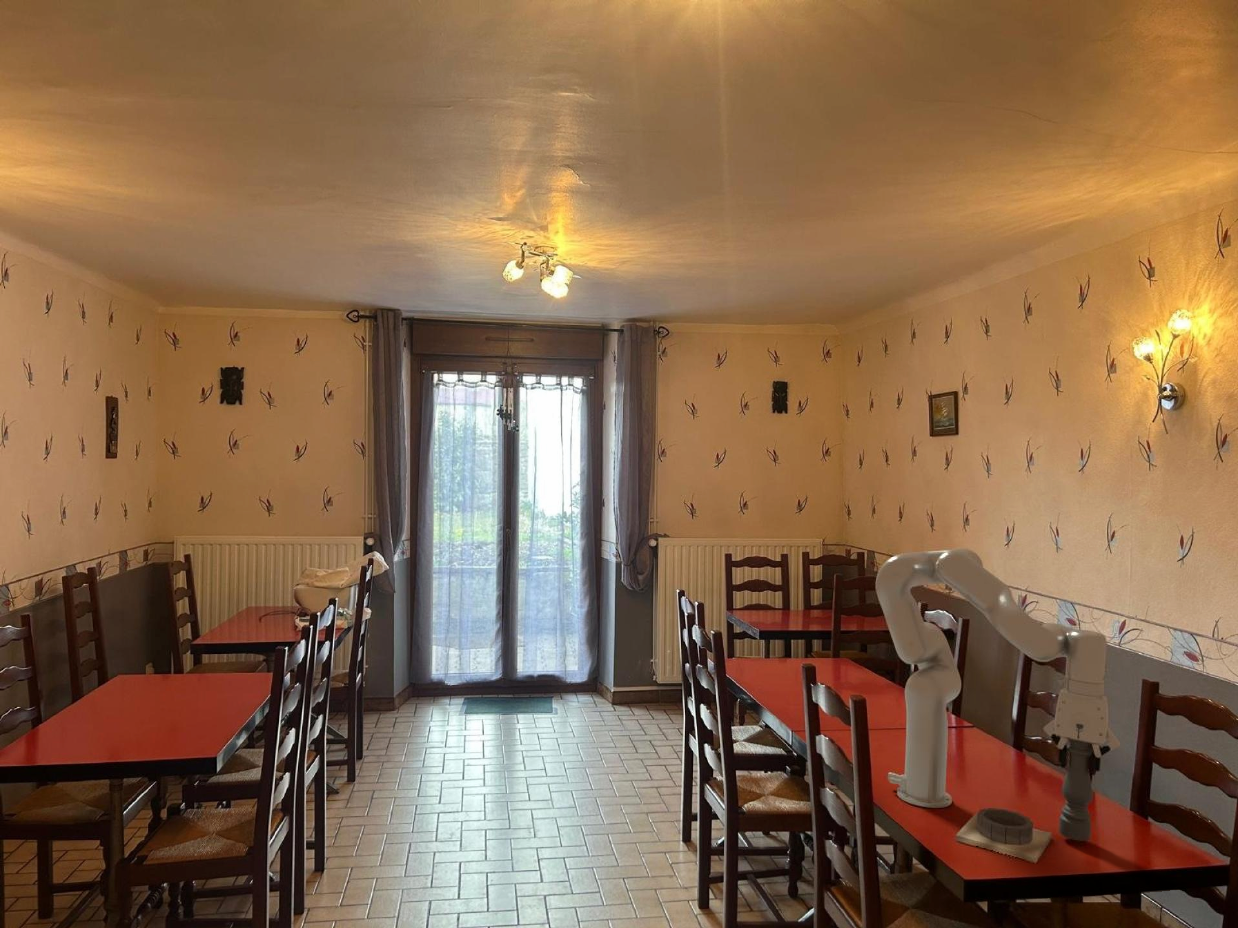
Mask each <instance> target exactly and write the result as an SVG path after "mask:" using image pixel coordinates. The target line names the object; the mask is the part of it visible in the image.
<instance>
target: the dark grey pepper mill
mask: <svg viewBox="0 0 1238 928" xmlns="http://www.w3.org/2000/svg"><path fill="white" fill-rule="evenodd" d="M1076 727H1077V728H1078V730H1077V729H1076V730H1077V731H1078V736H1077V738H1078V739H1080V738H1079V732H1081V731H1083V730H1081V731H1079V730H1080V729H1083V725H1082V724H1077V723H1076ZM1068 740H1069V743H1070V744H1067V750H1068V753H1069V763H1068V768H1067V771H1066V773H1065V777H1064V780H1063V783H1062V786H1061V794H1062V797H1063V798H1064V800H1065V801H1064V803H1065V805H1064V806H1063V807H1062V808H1061V814H1060V815H1059V826H1058V833H1059V834H1060V835H1062V836H1063V837H1066V838H1068V839H1070V840H1074V841H1080V842H1081V841H1082V842H1085V841H1089V840H1091V835H1092V834H1091V832H1092V821H1091V820H1090V819H1091V814H1090V813H1089V810H1088V809H1087V808H1088V806H1089V804H1091V802H1092V801H1093V798H1094V792H1093V787H1092V782H1091V781H1092V780H1091V776H1090V770H1089V768H1090V758H1091V756H1093V754H1094V750H1093V748H1091V747H1092V744H1091V743H1086V742H1082V741H1078V740H1072V739H1068Z"/></svg>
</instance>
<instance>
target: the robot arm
mask: <svg viewBox="0 0 1238 928" xmlns="http://www.w3.org/2000/svg"><path fill="white" fill-rule="evenodd" d="M983 565H984V563H983V560H982V559H981V557H980V556H979V554H978V553H976V552H974V551H973V550H971V549H969V548H957V549H956V548H953V549H946V550H930V551H929V550H928V551H926V550H925V551H915V552H914V551H913V552H906V553H899V554H896V555H893V556H892V557H890V558H888V559H887V560H886V561H885V562H884V563H883V564H882V565H881V567H880V568H879V569H878V572H877V574H876V579H875V593H876V595H877V596H876V597H877V599H878V602H879V604H880V608H881V609H882V612H883V615H884V618H885V622H886V625H887V627H888V630H889V634H890V636H891V639H892V643H893V644H894V648H895V651H896V654H897V655H898V658H900V660H901V661H903V662H904V663H905V664H907V665H917V668H918V670H917V671H915V672H913V673H912V674H911V675H910V676H909V678H908V679H907V681H906V684H905V686H904V687H905V688H904V699H905V707H906V730H905V732H906V734H905V736H906V737H905V757H904V758H905V759H904V760H905V761H904V774H903V773H902V774H901V775H900V774H897V773H895V772H890V771H889V772H888V774H887V780H888V782H889V783H890V784H893V785H898V788H897V789H896V794H897V796H898V798H900V799H901V800H902V801H904V802H906V803H907V804H911V805H914V806H918V807H924V808H930V809H942V808H946V807H947V808H948V807H949V806H950V805H951V804H952V800H953V798H952V796H951V795H950V794H949V793H948V792H946V785H947V784H946V783H947V781H946V779H947V761H948V760H947V759H948V758H947V757H948V735H949V733H948V730H949V729H948V727H949V726H948V725H949V723H948V722H949V721H948V715H947V714H948V713H947V704H948V703H950V702H952V701H954V700H955V699H956V698H957V697H958V696H959V694H960V693H961V690H962V679H961V676H960V673H959V670H958V667H957V665H956V664H957V663H956V662H955V661H956V660H955V658H954V655H953V653H952V651H951V647H950V645H949V643H948V639H947V637H946V636H945V634H944V632H943V631H942V630H941V628H939V627H938V626H937V625H936V624H933V623H931V622H928V621H924V618H923V617H922V614H921V611H920V607H919V605H918V603H917V601H916V599H915V598H914V597H913V595H912V593H911V589H912V588H913V587H920V586H926V585H944V584H945V585H946V586H948V587H949V588H951V589H952V590H953V591H955V592H956V593H957V594H959V595H960V596H961V597H963V599H965V600H966V601H968V603H970V604H971V605H972V606H974V608H976V609H977V610H979V611H980V612H981V613H982V614H983V615H984V616H985V618H986V619H987V620H988V622H990V624H991V625H992V626H993V627H994V628H995V630H996V631H997V633H999V634H1000V635H1001V636H1002V637H1004V639H1005V640H1007V641H1008V642H1009V643H1010V644H1011V645H1013V646H1014V647H1016V648H1017V649H1018V650H1020V652H1022V653H1023V654H1024V655H1026V656H1027V657H1029V658H1031V659H1032V660H1034V661H1037V662H1041V663H1042V662H1050V661H1053V660H1055V659H1056V658H1057V659H1058V658H1061V657H1064V658H1066V662H1065V663H1066V664H1065V676H1064V677H1058V678H1057V684H1059V685H1062V686H1063V688H1062V689H1060V690H1059V694H1058V697H1057V702H1056V707H1055V708H1056V709H1055V714H1054V715H1055V716H1054V719H1052V720H1050V722H1049V723H1047V724H1046V725H1045V726H1044V727H1043V731H1044V732H1045V733H1046V734H1047V736H1049V737H1050V739H1051V740H1052V741H1053V742H1054V743H1055V745H1056V746H1057V748H1058V759H1057V760H1058V762H1059V763H1060V768H1062V769H1065V768H1066V767H1067V765H1068V758H1069V757H1068V753H1069V751H1068V750H1067V746H1068V744H1067V742H1068V740H1069V739H1072V740H1078V741H1082V742H1086V743H1091V744H1092V745H1091V747H1092V750H1093V755H1091V756H1092V757H1091V767H1090V774H1091V776H1096V773H1097V772H1100V770H1101V761H1102V760H1101V757H1102V756H1104V755H1105V754H1108V753H1109V752H1110V751H1112V750H1114V749H1117V748H1119V747H1120V745H1121V743H1120V741H1119V739H1118V738H1117V737H1116V736H1115V734H1114V733H1113V731H1112V730H1111V729H1110V727H1109V705H1108V698H1107V696H1105V695H1104V692H1105V691H1104V690H1105V673H1106V658H1107V643H1108V641H1107V638H1106V636H1105V635H1104V634H1103V633H1100V632H1099V631H1093V630H1088V629H1076V628H1072V627H1068V626H1066V625H1062V624H1058V623H1054V622H1047V623H1043V624H1041V623H1039V622H1038V621H1037V620H1035V619H1034V618H1033V617H1031V616H1030V615H1029V614H1028V613H1026V612H1025V611H1024V610H1023V609H1022V607H1020V605H1019V604H1018V603H1017V602H1016V601H1015V599H1014V597H1013V593H1012V590H1011V588H1010V587H1009V585H1007V584H1006V583H1005V582H1004V581H1002V580H1001V579H999V578H998V577H996V576H995V574H993V573H991V572H990V571H989V570H987V569H986V568H984V566H983ZM1076 723H1077V724H1082V725H1083V729H1080V730H1079V731H1081V730H1083V731H1081V732H1079V738H1080V739H1078V738H1077V736H1078V731H1077V730H1078V728H1077V727H1076ZM1076 729H1077V730H1076ZM1107 740H1109V743H1107V744H1105V743H1106V741H1107ZM1104 744H1105V745H1104ZM1102 745H1103V746H1102Z"/></svg>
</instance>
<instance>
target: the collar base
mask: <svg viewBox="0 0 1238 928" xmlns="http://www.w3.org/2000/svg"><path fill="white" fill-rule="evenodd" d="M1052 834H1053V833H1052V832H1049V831H1044V830H1041V829H1037V828H1034V822H1033V821H1032V820H1031V819H1030V818H1029V817H1028V816H1026V815H1023V814H1022V813H1019V812H1017V811H1013V810H1009V809H1004V808H994V807H988V808H981V809H980V810H979V811H977V813H974V814H973V816H971V818H970V819H969V820H968V821H967V822H966V823H965V824H964V825H963V827H962V828H961V829H959V831H958V832H957V833H956V834H955V841H956V842H959V843H962V844H966V845H969V846H974V847H976V846H979V847H978V848H980V847H981V848H980V849H983V848H986V849H985V850H987V849H988V851H990V850H993V851H992V852H994V851H995V852H996V853H997V852H999V853H998V854H1001V853H1002V855H1005V854H1007V855H1006V856H1008V855H1011V856H1010V857H1012V856H1014V857H1013V858H1015V857H1019V858H1021V859H1020V860H1022V859H1025V860H1024V861H1026V860H1027V861H1026V862H1029V861H1030V862H1029V863H1033V862H1034V863H1033V864H1037V863H1038V861H1039V860H1040V858H1041V856H1042V855H1043V853H1044V851H1045V850H1046V848H1047V847H1046V846H1048V845H1049V843H1050V842H1051V840H1052ZM995 852H994V853H995ZM1039 857H1040V858H1039ZM1019 858H1018V859H1019ZM1038 859H1039V860H1038ZM1036 862H1037V863H1036Z"/></svg>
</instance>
